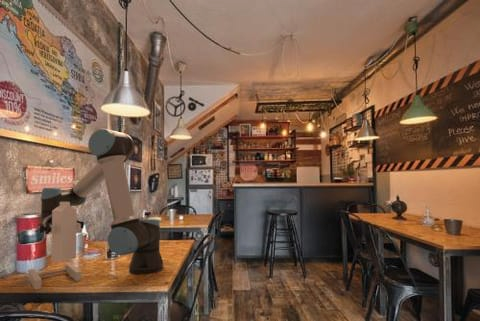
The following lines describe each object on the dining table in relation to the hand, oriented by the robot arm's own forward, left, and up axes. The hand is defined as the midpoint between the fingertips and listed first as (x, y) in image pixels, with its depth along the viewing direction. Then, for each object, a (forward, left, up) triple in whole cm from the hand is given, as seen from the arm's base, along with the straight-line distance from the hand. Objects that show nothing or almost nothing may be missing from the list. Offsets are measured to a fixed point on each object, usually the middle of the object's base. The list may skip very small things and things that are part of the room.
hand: (67, 228), depth 110 cm
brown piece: (+20, -4, -23) cm, 31 cm away
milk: (+5, -1, -12) cm, 13 cm away
